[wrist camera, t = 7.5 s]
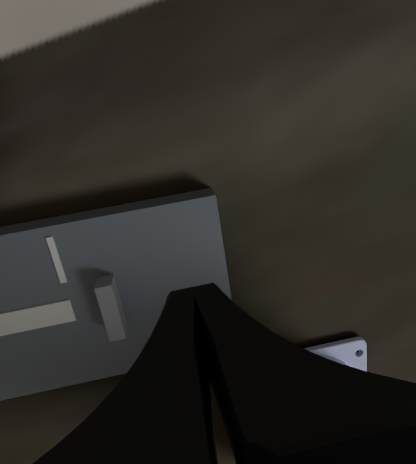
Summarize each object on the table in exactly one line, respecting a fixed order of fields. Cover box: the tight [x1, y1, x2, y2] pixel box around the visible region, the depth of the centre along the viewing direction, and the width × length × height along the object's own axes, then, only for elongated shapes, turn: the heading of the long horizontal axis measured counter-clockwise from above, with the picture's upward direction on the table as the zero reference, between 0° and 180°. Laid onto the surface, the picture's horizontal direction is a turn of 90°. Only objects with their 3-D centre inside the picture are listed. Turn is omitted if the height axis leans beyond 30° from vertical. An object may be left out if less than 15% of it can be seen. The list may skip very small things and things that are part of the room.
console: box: [0, 188, 232, 401], centre depth 20 cm, size 9×22×3 cm, turn 99°
